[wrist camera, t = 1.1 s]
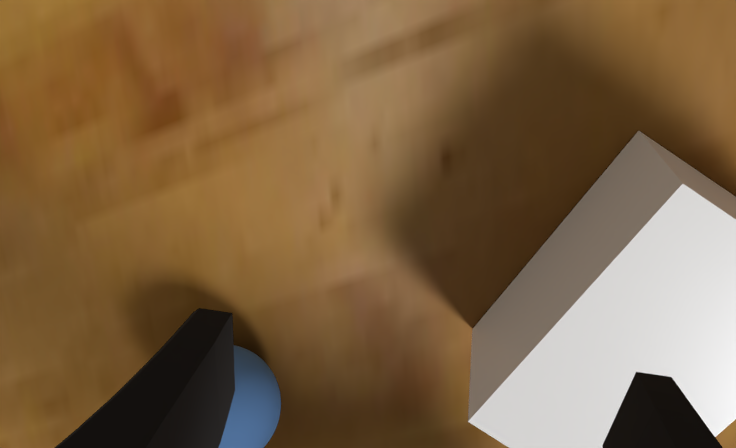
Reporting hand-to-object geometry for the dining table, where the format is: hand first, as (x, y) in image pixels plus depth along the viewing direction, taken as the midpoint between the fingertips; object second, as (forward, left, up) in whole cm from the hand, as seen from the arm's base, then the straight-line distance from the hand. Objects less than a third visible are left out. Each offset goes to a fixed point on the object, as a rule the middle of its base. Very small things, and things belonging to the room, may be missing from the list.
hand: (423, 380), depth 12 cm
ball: (+2, +13, -12) cm, 18 cm away
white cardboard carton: (-8, 0, -14) cm, 16 cm away
